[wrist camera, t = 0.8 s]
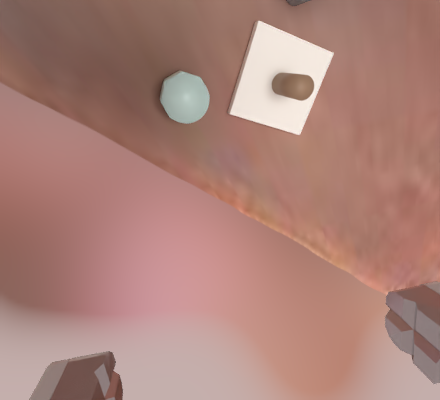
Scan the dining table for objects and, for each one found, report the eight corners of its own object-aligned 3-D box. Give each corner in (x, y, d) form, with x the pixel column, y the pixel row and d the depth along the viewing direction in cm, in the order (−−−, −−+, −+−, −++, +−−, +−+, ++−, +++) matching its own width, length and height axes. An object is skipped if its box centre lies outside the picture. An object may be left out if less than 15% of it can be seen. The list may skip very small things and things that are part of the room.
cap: (166, 66, 40) (168, 66, 35) (208, 80, 42) (214, 82, 37) (157, 110, 42) (157, 116, 38) (197, 121, 44) (202, 128, 40)
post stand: (255, 21, 39) (279, 13, 32) (328, 53, 44) (364, 52, 36) (227, 112, 44) (242, 123, 37) (295, 133, 48) (321, 146, 41)
